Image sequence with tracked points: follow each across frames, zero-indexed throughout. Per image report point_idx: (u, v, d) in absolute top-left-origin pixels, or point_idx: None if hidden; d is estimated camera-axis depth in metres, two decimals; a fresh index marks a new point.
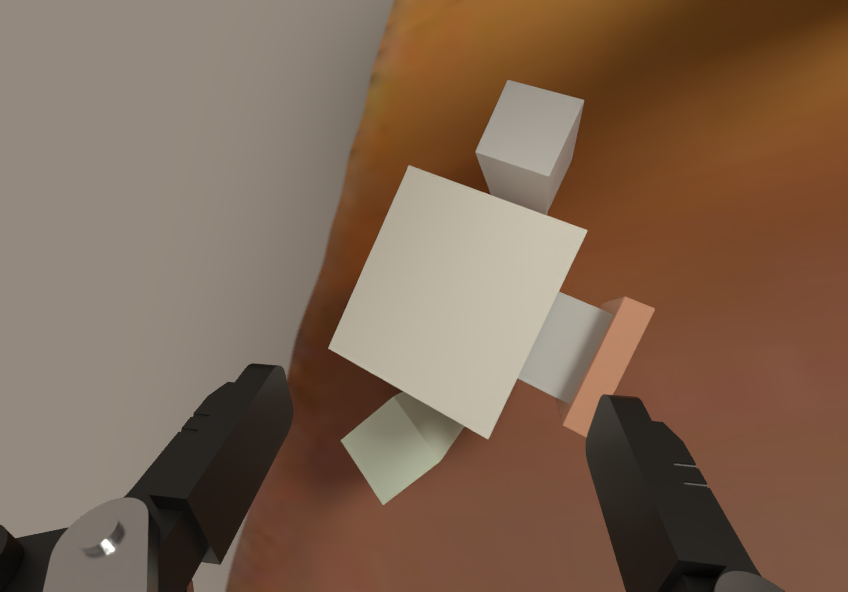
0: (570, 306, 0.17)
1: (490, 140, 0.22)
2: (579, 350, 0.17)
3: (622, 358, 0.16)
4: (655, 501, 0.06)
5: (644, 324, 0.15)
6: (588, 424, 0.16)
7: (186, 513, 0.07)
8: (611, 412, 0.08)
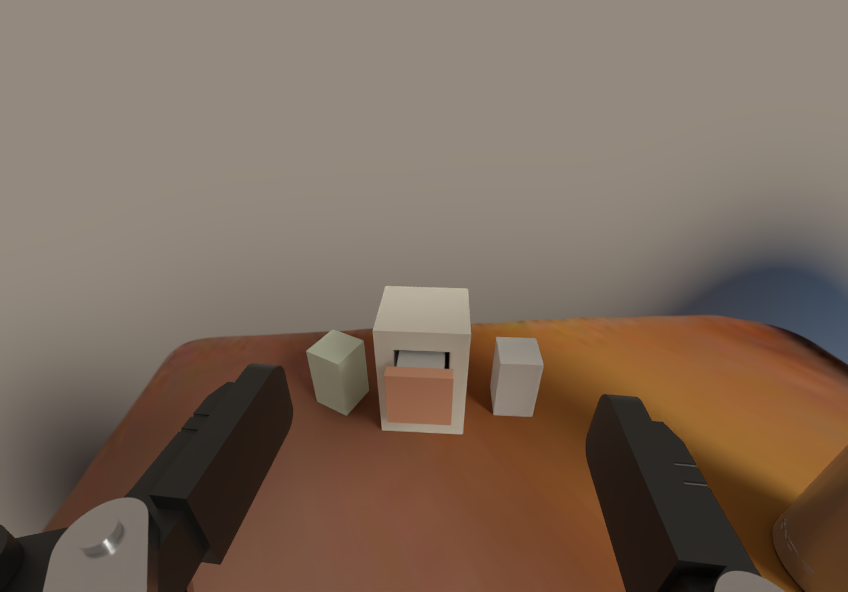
0: (440, 362, 0.35)
1: (504, 340, 0.43)
2: None
3: (425, 375, 0.33)
4: (655, 501, 0.06)
5: (444, 377, 0.32)
6: (390, 373, 0.33)
7: (186, 513, 0.07)
8: (611, 412, 0.08)
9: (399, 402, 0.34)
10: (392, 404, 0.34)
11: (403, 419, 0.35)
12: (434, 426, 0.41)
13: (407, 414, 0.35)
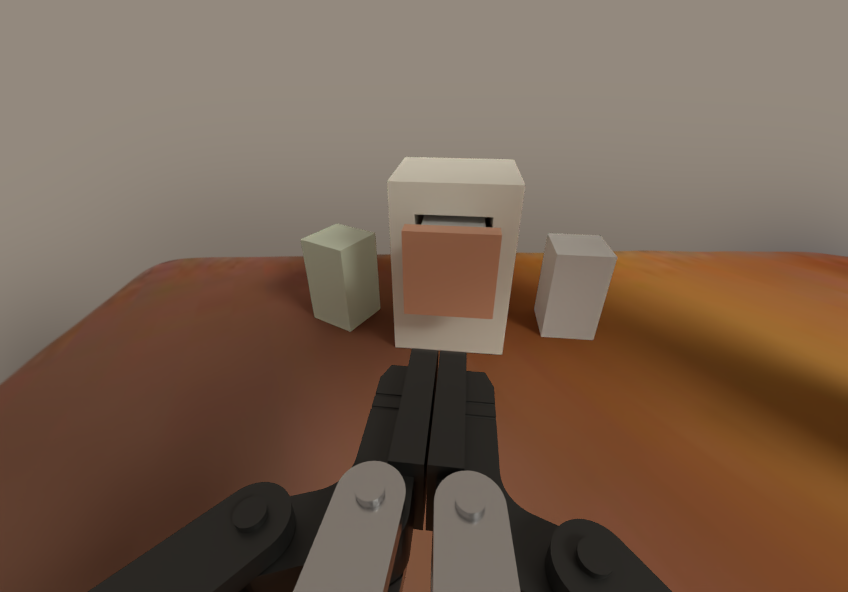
0: None
1: (559, 236, 0.33)
2: None
3: (461, 231, 0.23)
4: (434, 426, 0.08)
5: (489, 233, 0.22)
6: (410, 229, 0.23)
7: (416, 479, 0.07)
8: (439, 363, 0.10)
9: (421, 279, 0.24)
10: (411, 282, 0.25)
11: (426, 308, 0.26)
12: (464, 341, 0.31)
13: (432, 300, 0.25)
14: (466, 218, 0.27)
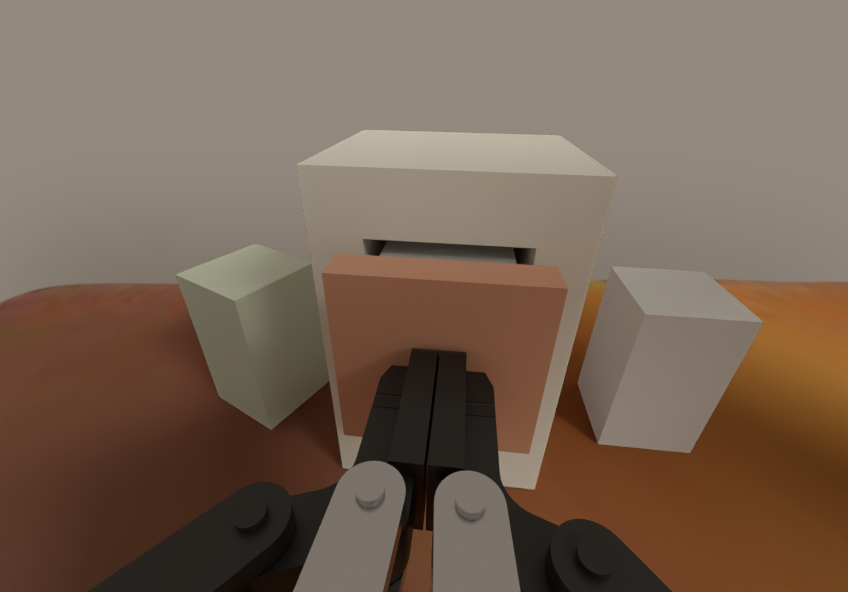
0: (502, 263, 0.12)
1: (633, 272, 0.19)
2: None
3: (466, 276, 0.09)
4: (434, 426, 0.08)
5: (535, 284, 0.09)
6: (345, 269, 0.10)
7: (416, 479, 0.07)
8: (439, 364, 0.10)
9: (376, 374, 0.11)
10: (355, 380, 0.11)
11: None
12: None
13: None
14: None
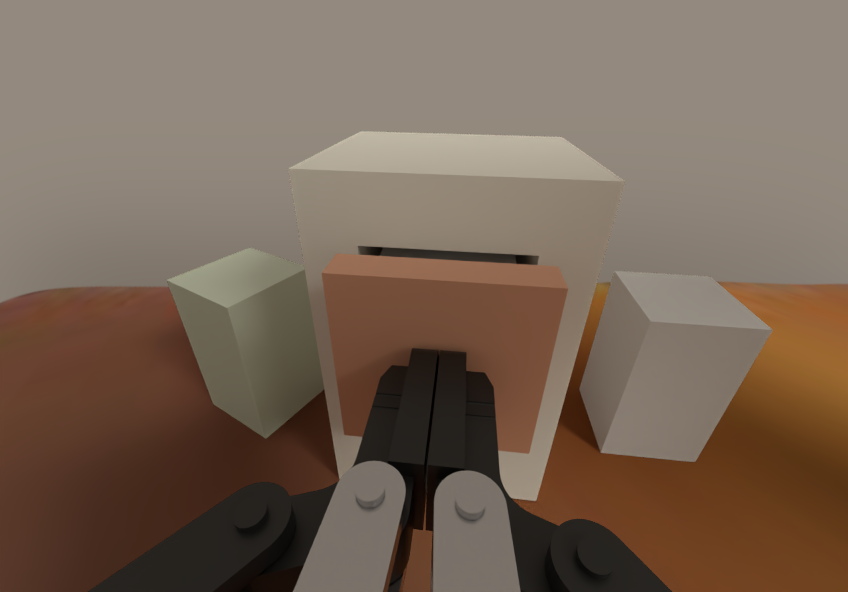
0: (502, 263, 0.12)
1: (637, 277, 0.18)
2: None
3: (466, 276, 0.09)
4: (434, 426, 0.08)
5: (535, 283, 0.09)
6: (345, 269, 0.10)
7: (416, 479, 0.07)
8: (439, 364, 0.10)
9: (376, 374, 0.11)
10: (355, 380, 0.11)
11: None
12: None
13: None
14: None
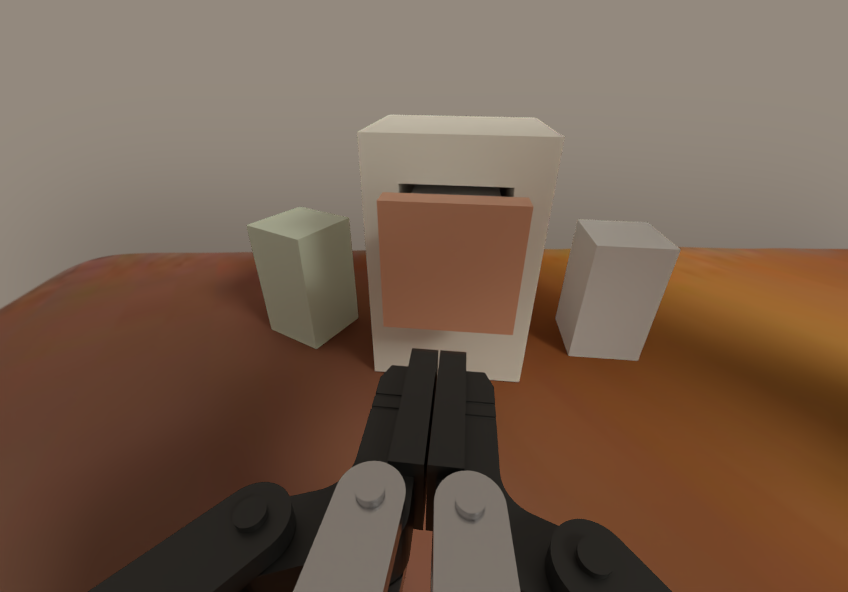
0: None
1: (593, 222, 0.25)
2: None
3: (469, 201, 0.15)
4: (434, 426, 0.08)
5: (513, 204, 0.14)
6: (391, 199, 0.15)
7: (416, 479, 0.07)
8: None
9: (408, 275, 0.16)
10: (394, 281, 0.16)
11: (416, 319, 0.17)
12: (469, 364, 0.23)
13: (425, 307, 0.17)
14: (473, 190, 0.19)
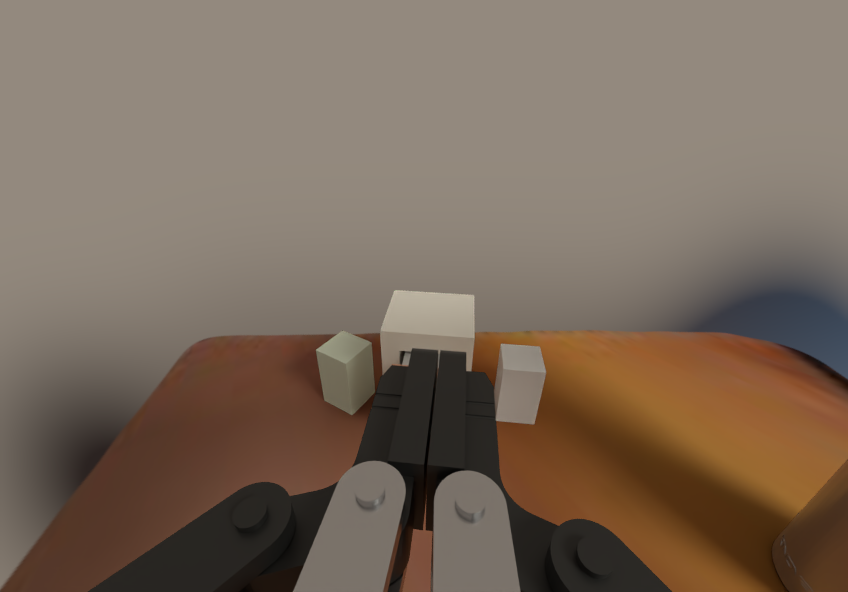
0: None
1: (509, 347, 0.44)
2: None
3: None
4: (434, 426, 0.08)
5: None
6: None
7: (416, 479, 0.07)
8: (439, 363, 0.10)
9: None
10: None
11: None
12: None
13: None
14: None
